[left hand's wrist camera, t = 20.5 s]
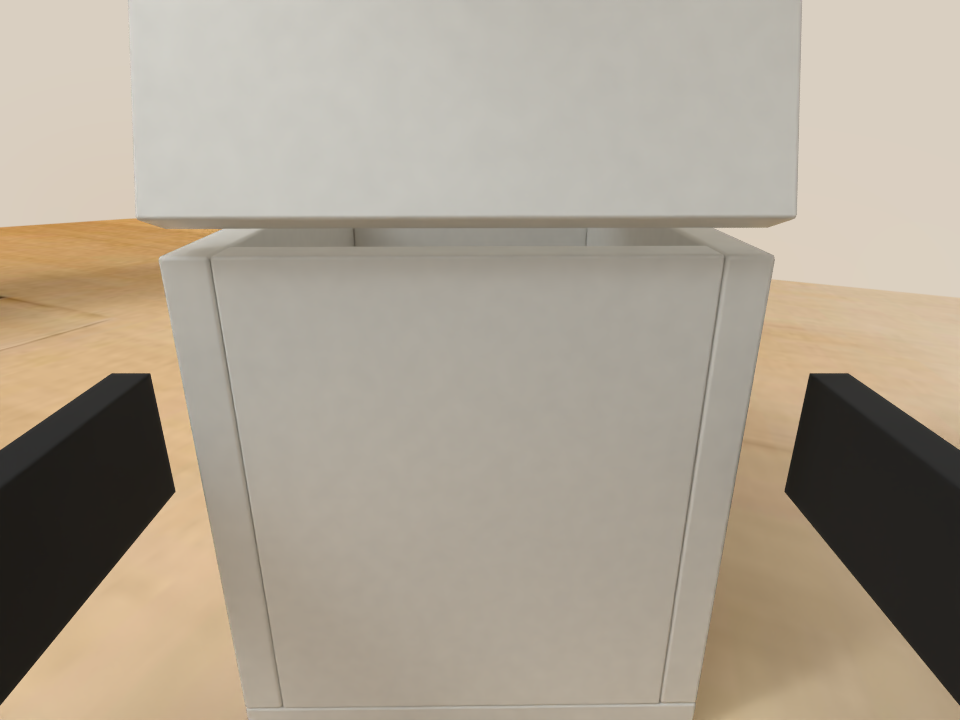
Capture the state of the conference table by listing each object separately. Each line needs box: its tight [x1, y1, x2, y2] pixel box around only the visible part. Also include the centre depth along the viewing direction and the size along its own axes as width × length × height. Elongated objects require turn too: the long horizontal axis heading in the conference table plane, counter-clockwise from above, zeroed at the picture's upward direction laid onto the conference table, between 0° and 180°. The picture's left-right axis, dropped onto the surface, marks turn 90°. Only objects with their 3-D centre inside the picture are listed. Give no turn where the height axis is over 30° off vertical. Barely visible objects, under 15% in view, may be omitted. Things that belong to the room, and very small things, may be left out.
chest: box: [159, 228, 775, 720], centre depth 18 cm, size 13×10×11 cm
